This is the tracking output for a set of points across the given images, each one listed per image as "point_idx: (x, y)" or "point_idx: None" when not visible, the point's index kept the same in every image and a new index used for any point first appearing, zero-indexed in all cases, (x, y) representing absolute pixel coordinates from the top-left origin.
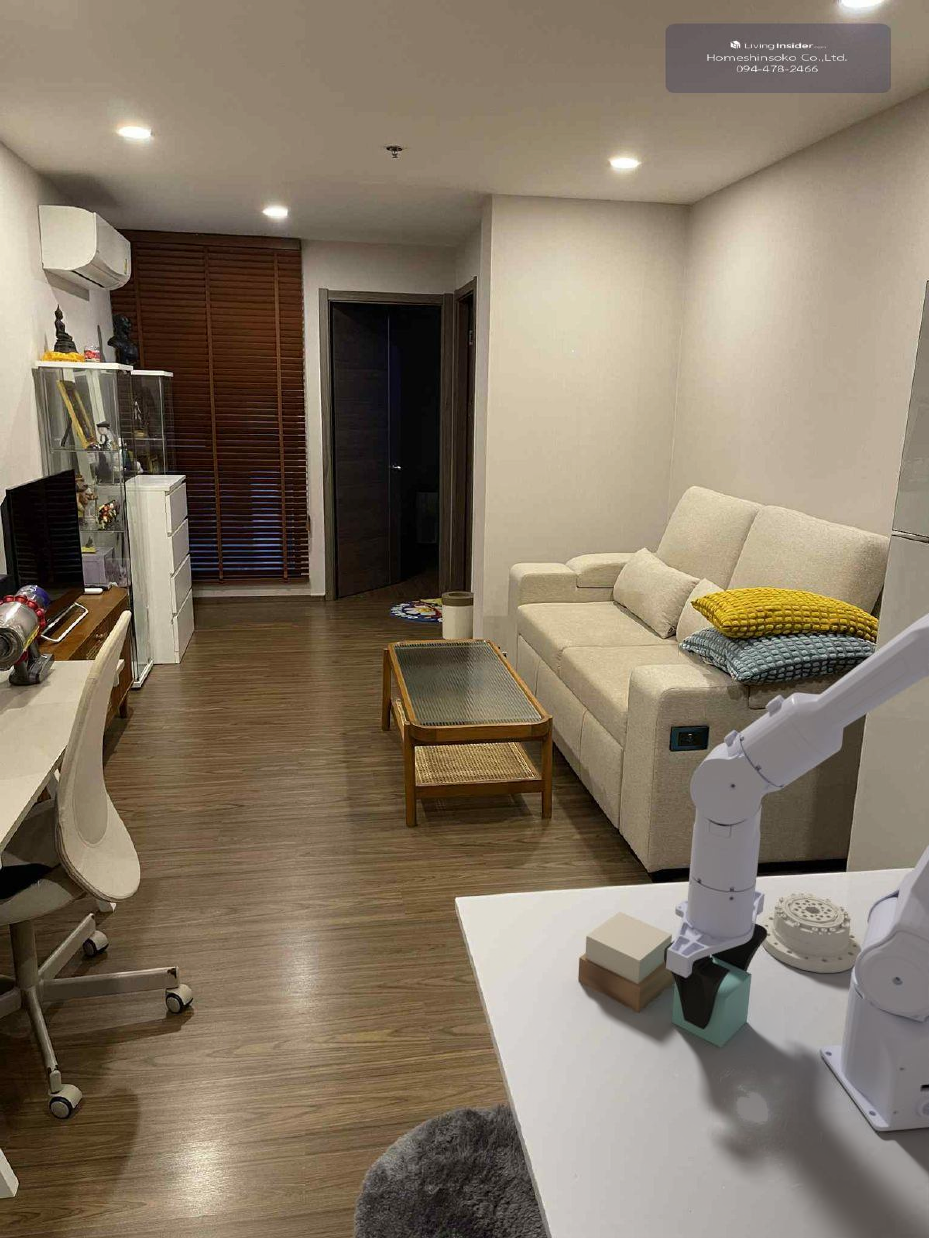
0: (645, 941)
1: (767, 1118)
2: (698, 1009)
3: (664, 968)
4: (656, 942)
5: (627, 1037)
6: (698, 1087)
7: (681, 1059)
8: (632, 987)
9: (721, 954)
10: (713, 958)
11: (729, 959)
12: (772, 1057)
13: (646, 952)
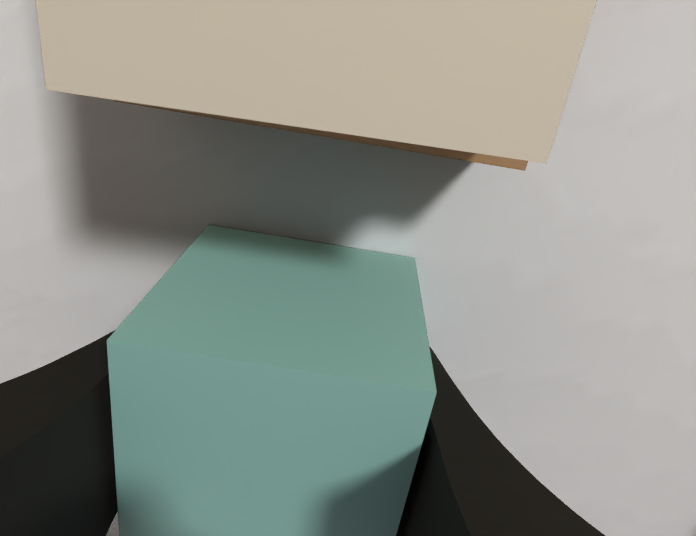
0: (319, 11)
1: None
2: None
3: (369, 143)
4: (363, 101)
5: (6, 115)
6: None
7: (64, 313)
8: None
9: (425, 504)
10: (405, 450)
11: (414, 531)
12: None
13: (177, 90)
